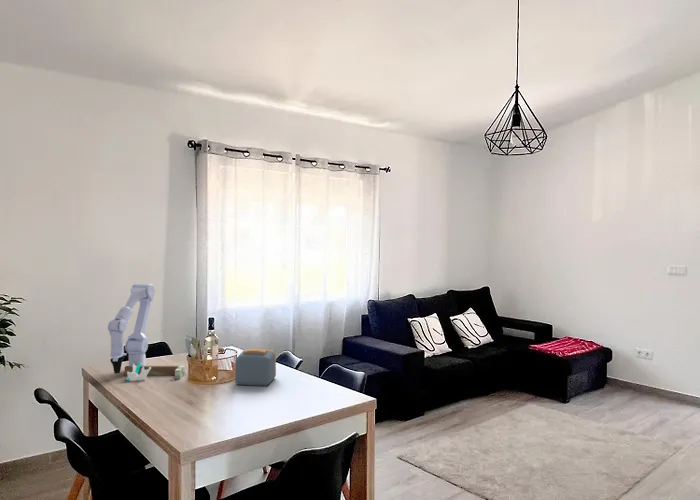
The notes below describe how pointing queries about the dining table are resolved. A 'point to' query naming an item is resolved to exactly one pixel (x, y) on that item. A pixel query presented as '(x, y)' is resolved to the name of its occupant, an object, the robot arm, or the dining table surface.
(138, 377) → the jawbone
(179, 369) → the cleat board
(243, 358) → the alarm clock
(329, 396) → the dining table surface
